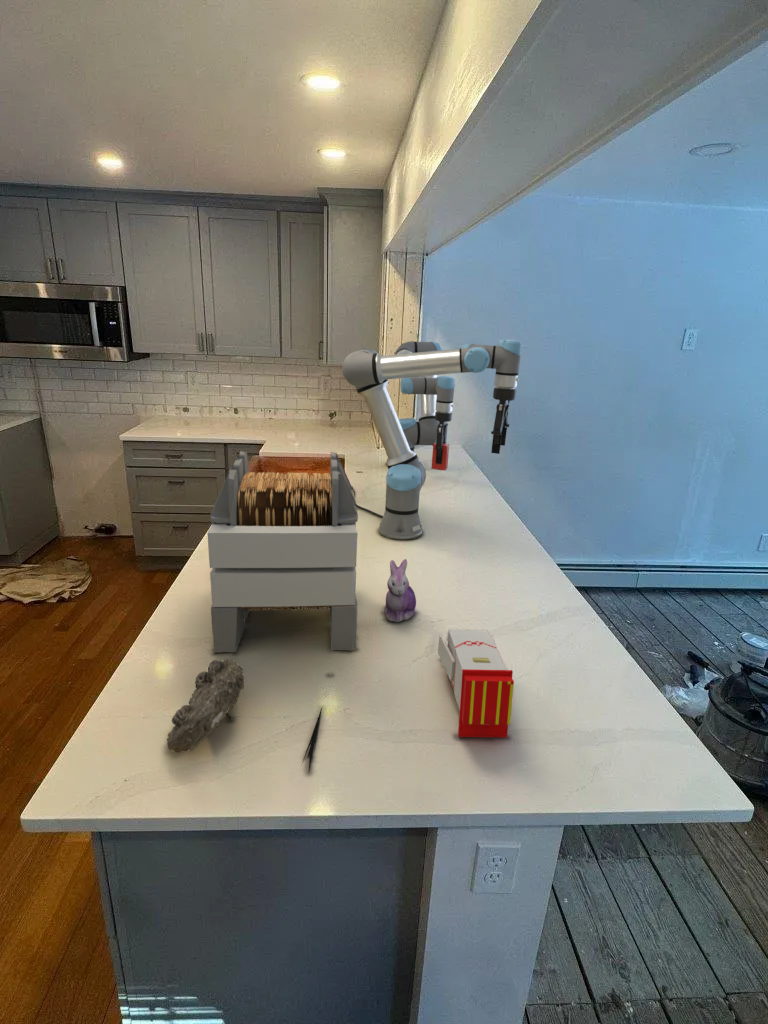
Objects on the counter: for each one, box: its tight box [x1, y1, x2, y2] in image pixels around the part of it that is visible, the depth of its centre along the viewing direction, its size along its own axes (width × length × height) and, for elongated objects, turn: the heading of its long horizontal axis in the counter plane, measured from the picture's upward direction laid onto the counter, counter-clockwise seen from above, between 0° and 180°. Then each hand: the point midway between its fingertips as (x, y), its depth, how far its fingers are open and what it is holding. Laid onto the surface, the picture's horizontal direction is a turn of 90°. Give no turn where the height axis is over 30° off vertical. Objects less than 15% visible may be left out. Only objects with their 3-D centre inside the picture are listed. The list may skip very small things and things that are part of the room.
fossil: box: [166, 658, 245, 754], centre depth 106 cm, size 22×10×15 cm
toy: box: [437, 628, 515, 738], centre depth 117 cm, size 12×13×30 cm
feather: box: [301, 673, 332, 771], centre depth 108 cm, size 2×28×2 cm
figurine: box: [384, 558, 417, 623], centre depth 145 cm, size 9×10×15 cm
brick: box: [430, 442, 450, 471], centre depth 261 cm, size 5×7×12 cm
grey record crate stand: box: [206, 450, 359, 654], centre depth 137 cm, size 34×33×41 cm
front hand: (498, 449), depth 199 cm, fingers open, 13 cm apart
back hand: (439, 461), depth 262 cm, fingers closed on brick, 5 cm apart
